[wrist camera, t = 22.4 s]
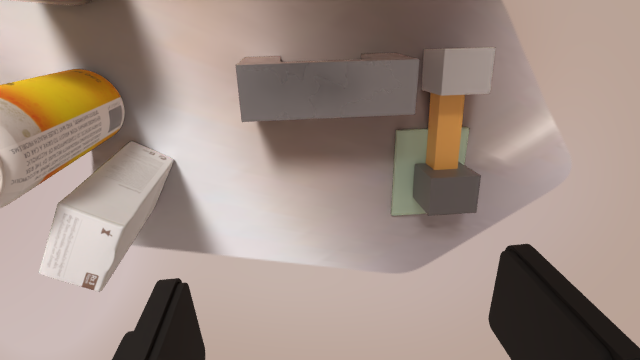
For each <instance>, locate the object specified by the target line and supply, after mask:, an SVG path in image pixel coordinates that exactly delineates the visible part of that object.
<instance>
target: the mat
mask: <svg viewBox="0 0 640 360" xmlns="http://www.w3.org/2000/svg"><path fill="white" fill-rule="evenodd" d="M468 135H469V128H468V127H462V129H461V139H460V149H459V159H458V162H460V163H462V164H463V165H464V163H465V156H466V149H467V142H468ZM427 138H428V129H409V130H396V137H395V153H394V169H393V185H392V202H391V215H392V216H396V215H412V214H427V213H426V212H425V211H424V210H423V209H422V207H421V206H420V205H419V204H418V203H417V202H416V200H415V199H414V198H413V183H414V167H415V164H420V163H426V152H427Z"/></svg>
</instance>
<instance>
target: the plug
mask: <svg viewBox="0 0 640 360" xmlns="http://www.w3.org/2000/svg"><path fill="white" fill-rule="evenodd" d="M495 48H496V47H481V48H446V49H424V54H423V70H422V86H421V90H423V91H427V92H430V93H431V95H430V110H429V124H428V138H427V152H426V163H420V164H415V167H414V183H413V198H414V199H415V200H416V202H417V203H418V204H419V205H420V206H421V207H422V209H423V210H424V211H425V212H426V213H427V214H428V215H445V214H461V213H476V211H477V203H478V194H479V186H480V178H481V176H480V175H479V174H477V173H476V172H474V171H473V170H471V169H470V168H468V167H466V166H465V165H463V164H462V163H460V162H458V159H459V149H460V139H461V129H462V119H463V109H464V99H465V95H470V94H490V89H491V81H492V73H493V65H494V57H495Z"/></svg>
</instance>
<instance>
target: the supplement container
mask: <svg viewBox="0 0 640 360" xmlns="http://www.w3.org/2000/svg"><path fill="white" fill-rule="evenodd" d="M10 1H23V2H35V3H47V4H59V5H81V4H85V3H88V2H90V1H92V0H10Z"/></svg>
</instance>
